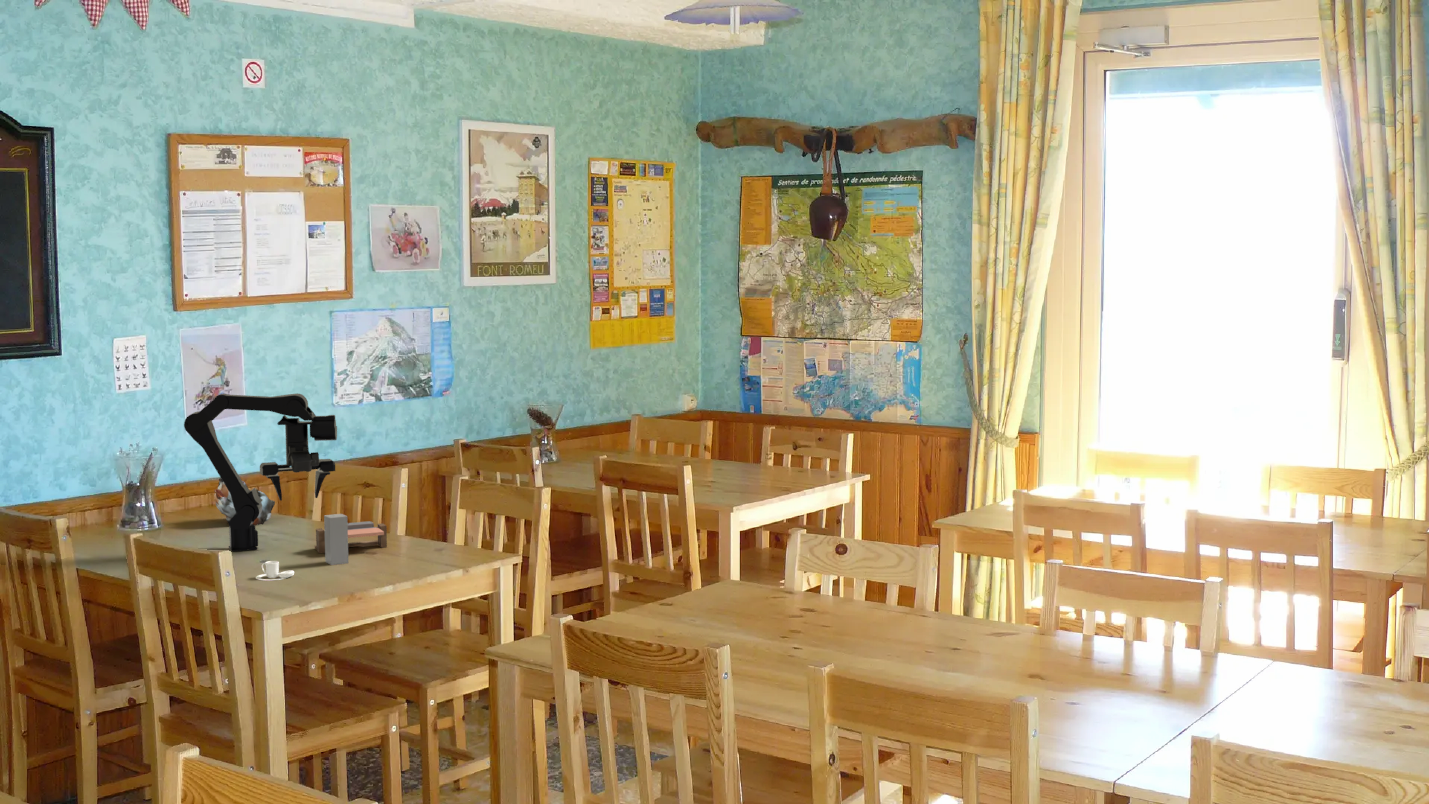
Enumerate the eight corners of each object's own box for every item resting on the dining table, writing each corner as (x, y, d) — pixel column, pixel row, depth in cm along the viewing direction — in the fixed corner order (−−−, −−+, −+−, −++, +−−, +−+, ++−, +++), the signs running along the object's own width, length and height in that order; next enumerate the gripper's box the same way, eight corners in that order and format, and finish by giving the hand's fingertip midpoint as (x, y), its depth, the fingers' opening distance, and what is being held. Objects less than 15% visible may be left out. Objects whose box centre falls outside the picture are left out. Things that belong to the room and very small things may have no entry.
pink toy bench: (319, 553, 351) (318, 531, 351) (314, 548, 357) (314, 527, 357) (386, 547, 359) (386, 525, 359) (381, 542, 365) (380, 521, 365)
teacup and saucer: (299, 577, 325) (299, 561, 325) (273, 584, 318) (273, 567, 318) (274, 573, 329) (274, 557, 329) (248, 579, 323) (247, 563, 322)
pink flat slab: (329, 543, 347) (329, 532, 347) (321, 536, 357) (321, 525, 357) (384, 538, 354) (383, 527, 353) (374, 531, 363) (374, 520, 363)
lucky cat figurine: (266, 526, 388) (238, 481, 383) (226, 543, 390) (197, 499, 385) (282, 500, 404) (255, 457, 398) (243, 516, 406) (216, 474, 400)
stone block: (330, 565, 337) (329, 518, 336) (325, 561, 341) (324, 515, 340) (348, 563, 340) (347, 516, 338) (342, 559, 343) (341, 513, 342)
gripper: (265, 446, 345) (266, 506, 347) (338, 442, 354) (340, 501, 355) (258, 441, 355) (260, 500, 357) (330, 438, 363) (331, 494, 365)
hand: (298, 499), depth 358 cm, fingers open, 9 cm apart
